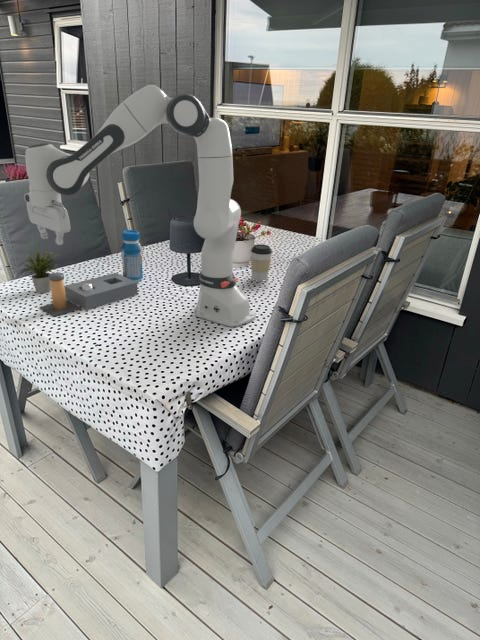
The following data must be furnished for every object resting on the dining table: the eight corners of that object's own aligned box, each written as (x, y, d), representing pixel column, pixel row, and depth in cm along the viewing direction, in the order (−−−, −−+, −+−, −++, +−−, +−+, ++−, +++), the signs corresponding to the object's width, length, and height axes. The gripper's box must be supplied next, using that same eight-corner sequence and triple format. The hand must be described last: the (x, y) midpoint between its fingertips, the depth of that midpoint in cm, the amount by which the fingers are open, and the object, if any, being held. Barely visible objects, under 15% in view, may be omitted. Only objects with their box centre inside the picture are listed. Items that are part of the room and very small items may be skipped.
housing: (116, 284, 181) (115, 272, 179) (137, 294, 173) (137, 282, 171) (65, 298, 166) (64, 285, 164) (86, 310, 158) (85, 296, 156)
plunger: (89, 295, 167) (88, 281, 165) (95, 298, 165) (94, 284, 163) (81, 298, 165) (79, 284, 162) (86, 301, 163) (85, 286, 160)
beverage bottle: (131, 284, 183) (129, 235, 174) (118, 278, 187) (115, 231, 179) (147, 279, 189) (146, 232, 180) (134, 274, 193) (131, 228, 185)
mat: (81, 309, 158) (80, 307, 158) (54, 317, 151) (54, 315, 151) (66, 300, 164) (65, 299, 164) (39, 308, 157) (39, 306, 157)
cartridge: (70, 307, 158) (66, 275, 153) (57, 311, 154) (53, 278, 149) (63, 303, 160) (59, 271, 155) (50, 307, 157) (45, 274, 152)
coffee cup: (270, 276, 200) (272, 243, 194) (269, 283, 192) (272, 249, 186) (249, 274, 201) (252, 242, 194) (248, 281, 193) (250, 247, 186)
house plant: (48, 301, 163) (42, 258, 156) (14, 296, 165) (7, 253, 158) (69, 287, 175) (65, 247, 168) (37, 283, 178) (31, 243, 171)
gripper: (73, 202, 138) (78, 246, 143) (39, 192, 149) (45, 233, 155) (53, 204, 133) (59, 250, 139) (21, 194, 145) (27, 236, 151)
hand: (52, 241), depth 147 cm, fingers open, 8 cm apart
